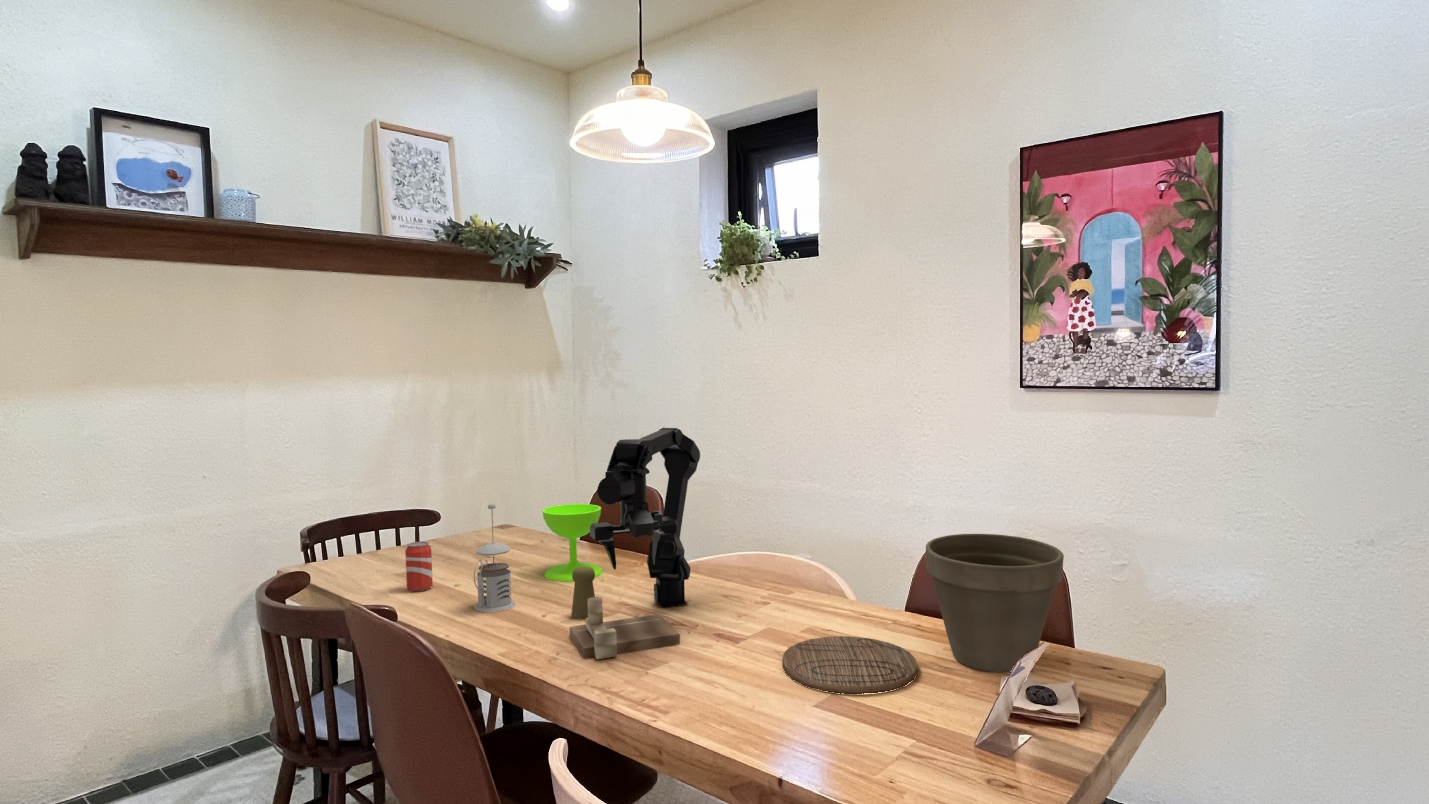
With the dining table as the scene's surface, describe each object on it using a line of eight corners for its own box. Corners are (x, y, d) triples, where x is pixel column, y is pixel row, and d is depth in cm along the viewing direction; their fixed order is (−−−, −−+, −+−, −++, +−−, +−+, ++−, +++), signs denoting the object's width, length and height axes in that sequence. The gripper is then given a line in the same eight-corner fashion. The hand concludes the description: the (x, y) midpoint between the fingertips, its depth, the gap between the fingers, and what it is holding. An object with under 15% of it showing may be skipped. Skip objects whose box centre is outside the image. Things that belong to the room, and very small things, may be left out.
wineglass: (614, 570, 221) (613, 506, 220) (575, 584, 207) (573, 516, 206) (572, 563, 229) (570, 502, 228) (531, 576, 216) (530, 511, 215)
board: (659, 622, 175) (659, 613, 175) (679, 643, 162) (679, 633, 162) (569, 635, 168) (569, 626, 168) (583, 658, 155) (583, 648, 155)
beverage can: (436, 585, 208) (434, 541, 208) (425, 592, 202) (423, 546, 201) (414, 585, 209) (412, 540, 208) (402, 592, 203) (400, 546, 202)
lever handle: (600, 634, 167) (599, 592, 167) (616, 656, 155) (615, 610, 154) (582, 637, 166) (581, 595, 165) (596, 659, 153) (595, 613, 153)
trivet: (779, 645, 161) (779, 636, 161) (902, 644, 160) (902, 635, 160) (786, 697, 136) (786, 686, 136) (931, 697, 135) (931, 686, 135)
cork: (592, 619, 179) (591, 571, 178) (567, 618, 180) (565, 570, 179) (601, 611, 184) (600, 564, 184) (577, 609, 186) (575, 563, 185)
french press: (524, 601, 193) (520, 500, 192) (496, 616, 182) (492, 509, 181) (489, 598, 196) (486, 499, 195) (460, 612, 185) (456, 507, 184)
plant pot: (1068, 693, 135) (1068, 568, 134) (920, 676, 143) (919, 558, 142) (1058, 643, 158) (1059, 537, 157) (931, 631, 167) (931, 530, 166)
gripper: (600, 506, 162) (602, 581, 163) (685, 498, 169) (687, 570, 170) (588, 497, 172) (590, 568, 173) (669, 491, 179) (670, 559, 180)
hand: (634, 566), depth 174 cm, fingers open, 9 cm apart
